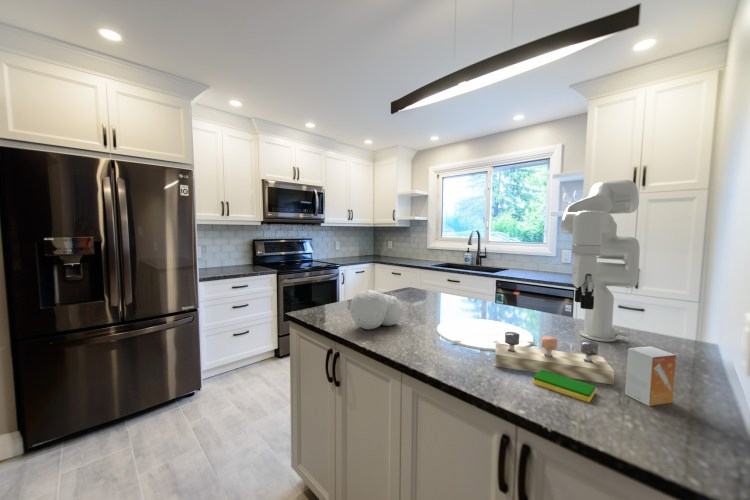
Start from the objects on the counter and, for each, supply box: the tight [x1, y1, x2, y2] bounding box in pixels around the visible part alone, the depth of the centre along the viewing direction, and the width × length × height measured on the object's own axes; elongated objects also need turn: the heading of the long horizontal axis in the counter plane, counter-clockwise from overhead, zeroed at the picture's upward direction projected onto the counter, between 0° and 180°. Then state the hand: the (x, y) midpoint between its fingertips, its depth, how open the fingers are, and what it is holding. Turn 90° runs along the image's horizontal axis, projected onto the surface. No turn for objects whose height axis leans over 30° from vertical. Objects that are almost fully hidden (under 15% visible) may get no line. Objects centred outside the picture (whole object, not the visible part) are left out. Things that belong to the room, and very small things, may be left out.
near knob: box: [580, 339, 599, 363], centre depth 96 cm, size 4×4×7 cm
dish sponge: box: [532, 370, 596, 403], centre depth 87 cm, size 7×14×2 cm, turn 44°
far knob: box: [505, 332, 519, 352], centre depth 104 cm, size 4×4×7 cm
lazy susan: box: [436, 318, 537, 352], centre depth 133 cm, size 40×39×3 cm
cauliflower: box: [349, 289, 404, 330], centre depth 143 cm, size 20×25×22 cm
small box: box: [624, 345, 677, 407], centre depth 81 cm, size 8×6×13 cm
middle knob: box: [540, 335, 558, 357], centre depth 100 cm, size 4×4×7 cm
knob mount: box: [494, 343, 615, 385], centre depth 100 cm, size 32×11×4 cm, turn 68°
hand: (583, 305), depth 96 cm, fingers open, 9 cm apart
